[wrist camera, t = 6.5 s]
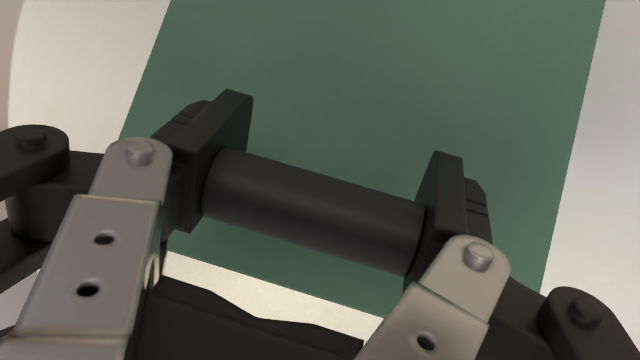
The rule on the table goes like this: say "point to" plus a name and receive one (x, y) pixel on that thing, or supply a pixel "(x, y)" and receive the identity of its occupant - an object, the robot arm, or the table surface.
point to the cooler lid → (371, 129)
